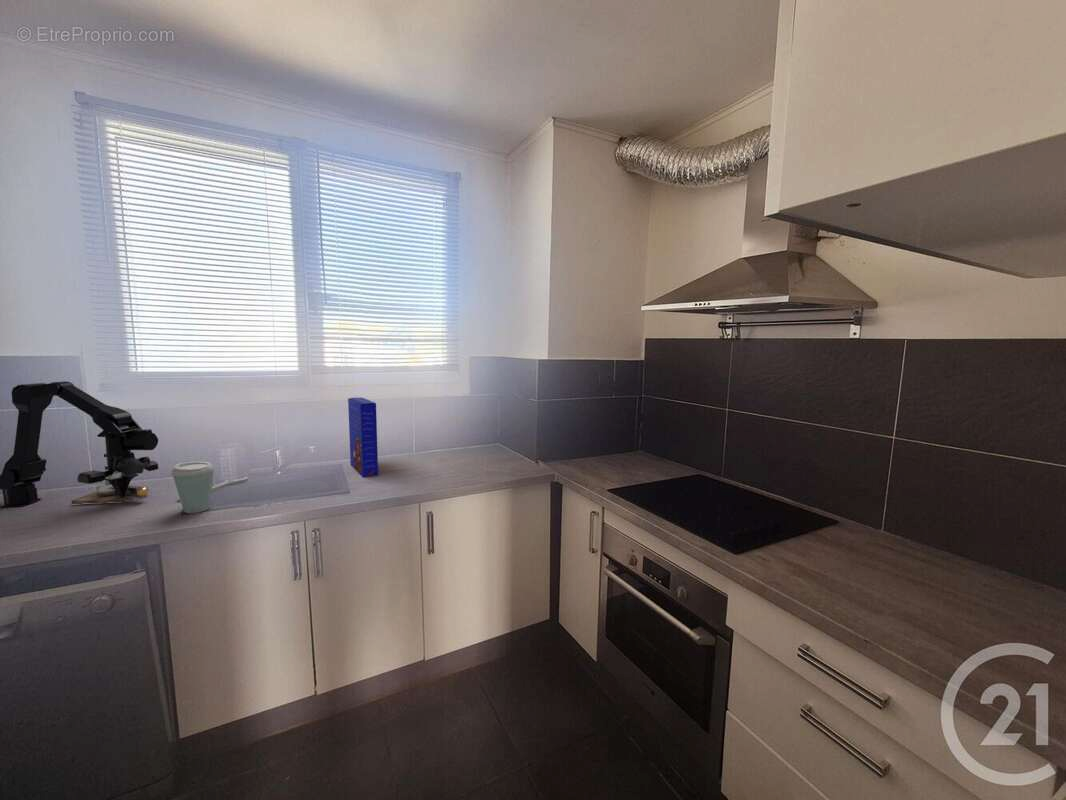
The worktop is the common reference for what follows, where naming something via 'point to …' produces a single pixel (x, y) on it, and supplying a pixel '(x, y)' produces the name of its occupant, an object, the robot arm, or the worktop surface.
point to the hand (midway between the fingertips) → (122, 496)
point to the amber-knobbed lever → (108, 489)
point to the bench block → (100, 498)
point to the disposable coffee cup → (194, 485)
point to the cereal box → (363, 436)
